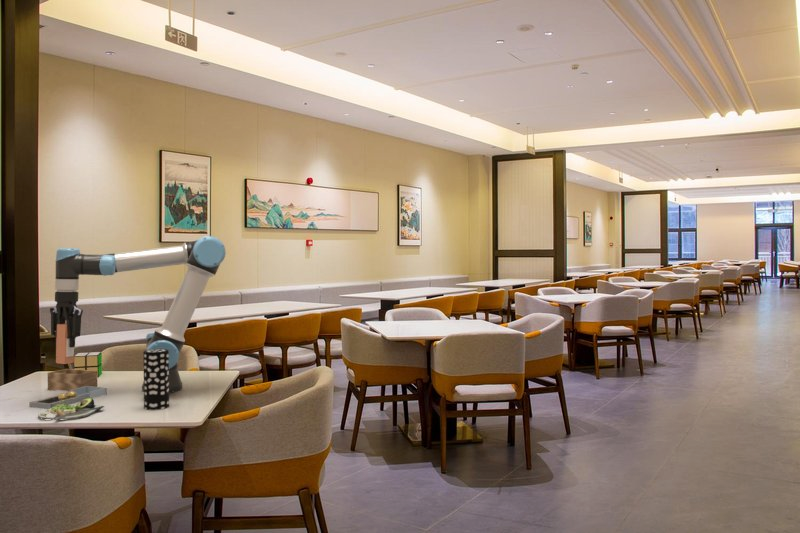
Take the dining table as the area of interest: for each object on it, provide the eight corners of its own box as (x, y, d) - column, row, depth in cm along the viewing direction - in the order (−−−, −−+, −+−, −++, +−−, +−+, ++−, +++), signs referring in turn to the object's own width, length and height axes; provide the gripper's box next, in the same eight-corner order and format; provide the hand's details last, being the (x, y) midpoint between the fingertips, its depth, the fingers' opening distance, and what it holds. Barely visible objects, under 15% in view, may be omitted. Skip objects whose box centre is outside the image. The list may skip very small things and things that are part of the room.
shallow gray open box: (90, 399, 234) (90, 394, 234) (50, 410, 218) (50, 404, 218) (69, 397, 237) (69, 392, 237) (29, 408, 221) (29, 402, 221)
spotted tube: (161, 403, 227) (160, 348, 227) (173, 406, 222) (173, 350, 222) (139, 407, 221) (138, 351, 221) (151, 411, 216) (151, 353, 215)
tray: (106, 395, 241) (106, 387, 241) (90, 399, 234) (89, 391, 234) (86, 393, 245) (86, 386, 244) (69, 397, 237) (69, 390, 237)
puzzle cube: (77, 374, 284) (77, 352, 284) (102, 373, 287) (101, 351, 287) (73, 378, 275) (73, 356, 275) (98, 377, 278) (98, 355, 278)
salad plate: (80, 424, 201) (80, 409, 201) (25, 424, 201) (24, 409, 201) (109, 409, 220) (109, 396, 220) (58, 409, 220) (58, 396, 220)
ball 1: (69, 401, 229) (69, 392, 229) (62, 403, 226) (62, 394, 226) (63, 400, 230) (63, 392, 230) (55, 402, 227) (55, 393, 227)
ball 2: (78, 399, 233) (78, 390, 233) (71, 400, 230) (71, 392, 230) (72, 398, 234) (72, 389, 234) (65, 400, 231) (65, 391, 231)
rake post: (73, 362, 227) (74, 324, 227) (64, 364, 223) (65, 324, 223) (65, 361, 228) (66, 323, 228) (55, 363, 225) (57, 324, 225)
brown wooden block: (97, 388, 254) (97, 371, 254) (79, 392, 246) (79, 375, 246) (66, 385, 260) (66, 368, 260) (47, 389, 251) (47, 372, 251)
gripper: (93, 291, 226) (91, 356, 226) (58, 289, 232) (56, 352, 232) (76, 292, 219) (74, 359, 219) (40, 290, 225) (38, 355, 225)
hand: (64, 355), depth 226 cm, fingers closed on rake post, 4 cm apart
